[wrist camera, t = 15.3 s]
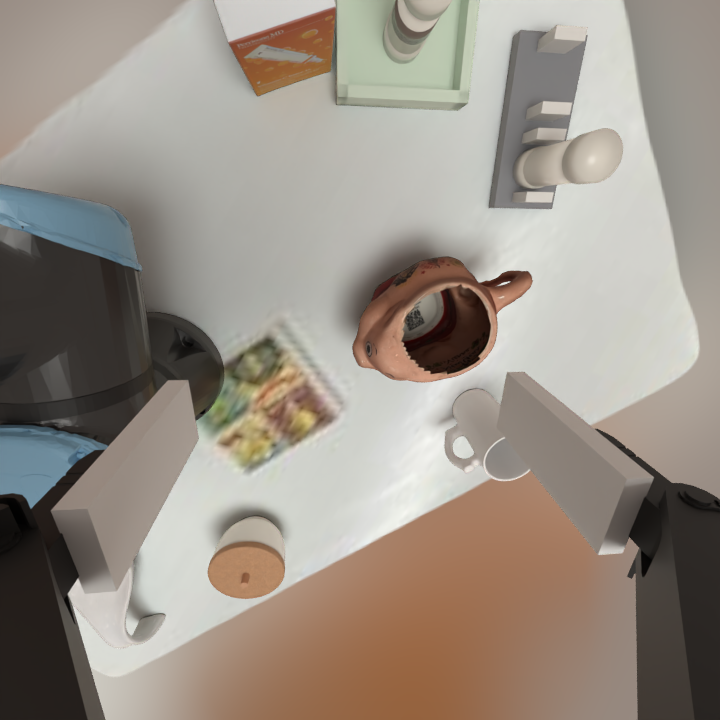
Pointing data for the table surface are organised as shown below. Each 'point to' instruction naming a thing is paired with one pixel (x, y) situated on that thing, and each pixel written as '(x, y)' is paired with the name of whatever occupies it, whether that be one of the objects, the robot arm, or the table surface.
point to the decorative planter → (433, 320)
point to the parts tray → (404, 81)
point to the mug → (483, 438)
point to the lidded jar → (248, 559)
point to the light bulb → (410, 27)
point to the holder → (546, 123)
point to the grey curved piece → (114, 614)
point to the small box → (279, 39)
